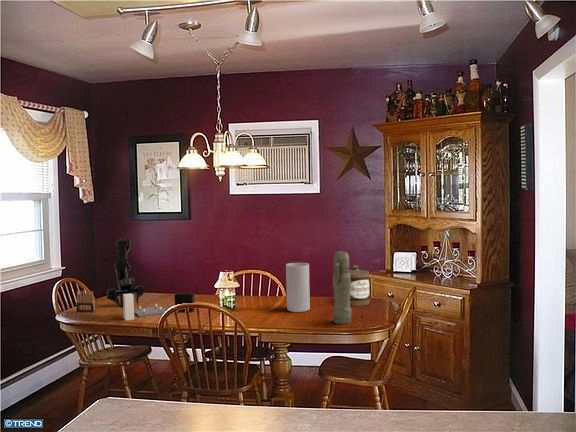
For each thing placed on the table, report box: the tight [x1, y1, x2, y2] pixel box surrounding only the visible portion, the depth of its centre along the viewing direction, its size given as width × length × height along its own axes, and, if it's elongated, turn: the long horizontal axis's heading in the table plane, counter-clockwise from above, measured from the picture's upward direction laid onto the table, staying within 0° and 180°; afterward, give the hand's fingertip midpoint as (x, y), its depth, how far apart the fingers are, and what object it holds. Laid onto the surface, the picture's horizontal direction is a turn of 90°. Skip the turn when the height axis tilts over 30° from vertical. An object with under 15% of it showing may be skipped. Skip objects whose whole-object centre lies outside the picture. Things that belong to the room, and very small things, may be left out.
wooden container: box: [349, 264, 370, 307], centre depth 328 cm, size 15×15×22 cm
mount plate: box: [134, 303, 167, 318], centre depth 318 cm, size 16×16×3 cm
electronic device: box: [174, 292, 196, 313], centre depth 318 cm, size 4×10×10 cm, turn 78°
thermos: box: [332, 250, 352, 325], centre depth 286 cm, size 9×12×35 cm
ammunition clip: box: [76, 290, 96, 313], centre depth 323 cm, size 11×2×12 cm, turn 78°
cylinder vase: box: [285, 262, 311, 313], centre depth 315 cm, size 12×12×25 cm
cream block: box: [122, 294, 135, 321], centre depth 303 cm, size 4×4×13 cm
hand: (128, 305), depth 302 cm, fingers open, 9 cm apart
